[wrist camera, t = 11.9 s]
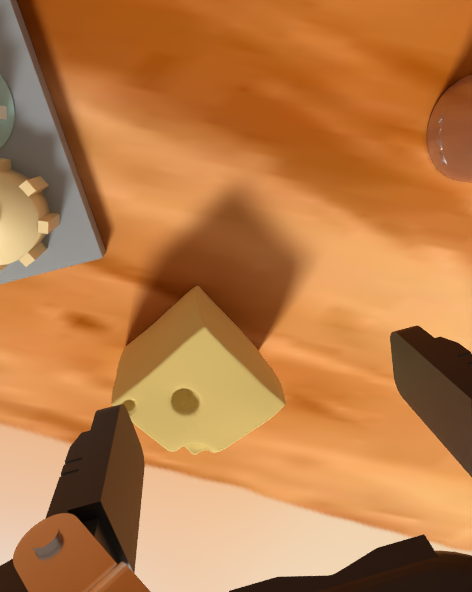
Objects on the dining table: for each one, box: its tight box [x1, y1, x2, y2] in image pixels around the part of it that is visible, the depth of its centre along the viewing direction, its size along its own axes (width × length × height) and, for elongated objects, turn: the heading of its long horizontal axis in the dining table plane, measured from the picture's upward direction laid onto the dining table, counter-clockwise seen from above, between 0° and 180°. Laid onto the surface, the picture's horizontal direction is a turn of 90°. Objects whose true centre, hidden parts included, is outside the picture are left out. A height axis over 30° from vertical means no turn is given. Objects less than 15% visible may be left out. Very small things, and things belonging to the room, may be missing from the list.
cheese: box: [111, 285, 286, 455], centre depth 38 cm, size 10×11×10 cm
